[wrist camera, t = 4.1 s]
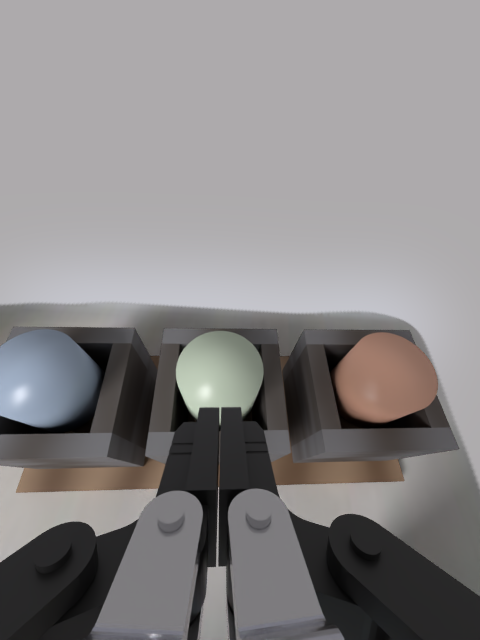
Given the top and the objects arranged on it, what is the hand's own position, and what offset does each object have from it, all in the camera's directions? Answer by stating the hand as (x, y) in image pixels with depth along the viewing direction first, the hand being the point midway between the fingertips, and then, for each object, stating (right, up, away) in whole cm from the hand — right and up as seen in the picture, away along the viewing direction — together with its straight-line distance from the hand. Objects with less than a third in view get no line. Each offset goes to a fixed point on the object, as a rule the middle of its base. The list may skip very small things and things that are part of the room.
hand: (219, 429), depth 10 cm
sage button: (-1, -1, +9) cm, 9 cm away
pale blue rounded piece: (-11, -1, +8) cm, 13 cm away
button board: (-1, -5, +15) cm, 15 cm away
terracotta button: (+9, -1, +9) cm, 13 cm away
